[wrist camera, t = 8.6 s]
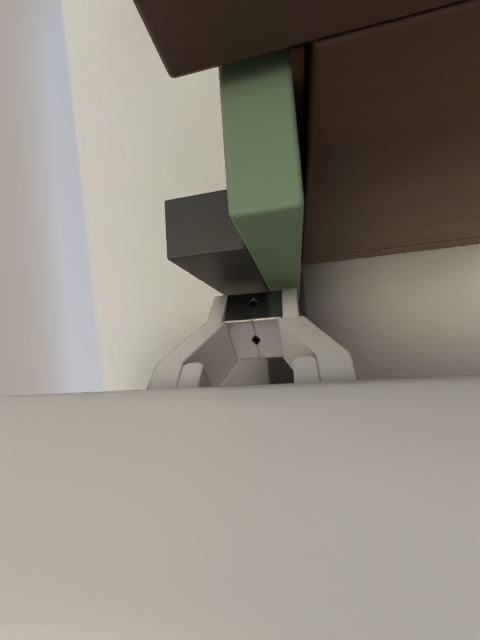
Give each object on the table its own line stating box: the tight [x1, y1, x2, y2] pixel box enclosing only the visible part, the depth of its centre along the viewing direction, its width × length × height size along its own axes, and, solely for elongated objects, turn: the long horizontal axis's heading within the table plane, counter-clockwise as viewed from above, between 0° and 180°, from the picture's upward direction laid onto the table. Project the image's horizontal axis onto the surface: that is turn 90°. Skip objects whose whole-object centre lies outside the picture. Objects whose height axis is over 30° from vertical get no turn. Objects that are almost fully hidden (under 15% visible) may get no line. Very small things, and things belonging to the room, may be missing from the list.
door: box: [165, 47, 304, 299], centre depth 10 cm, size 12×3×10 cm, turn 4°
